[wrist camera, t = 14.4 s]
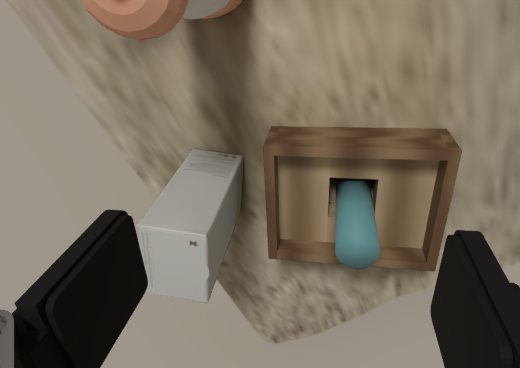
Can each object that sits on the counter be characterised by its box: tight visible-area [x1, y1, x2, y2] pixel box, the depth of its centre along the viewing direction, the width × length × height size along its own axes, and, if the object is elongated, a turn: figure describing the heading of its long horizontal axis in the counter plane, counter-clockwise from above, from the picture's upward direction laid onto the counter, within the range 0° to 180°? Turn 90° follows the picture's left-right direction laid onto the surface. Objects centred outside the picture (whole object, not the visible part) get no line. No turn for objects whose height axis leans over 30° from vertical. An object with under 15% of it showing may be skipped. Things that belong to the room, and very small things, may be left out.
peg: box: [335, 178, 380, 269], centre depth 38 cm, size 4×4×12 cm
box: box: [263, 126, 462, 271], centre depth 41 cm, size 18×14×6 cm
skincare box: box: [137, 149, 243, 303], centre depth 40 cm, size 8×7×16 cm
